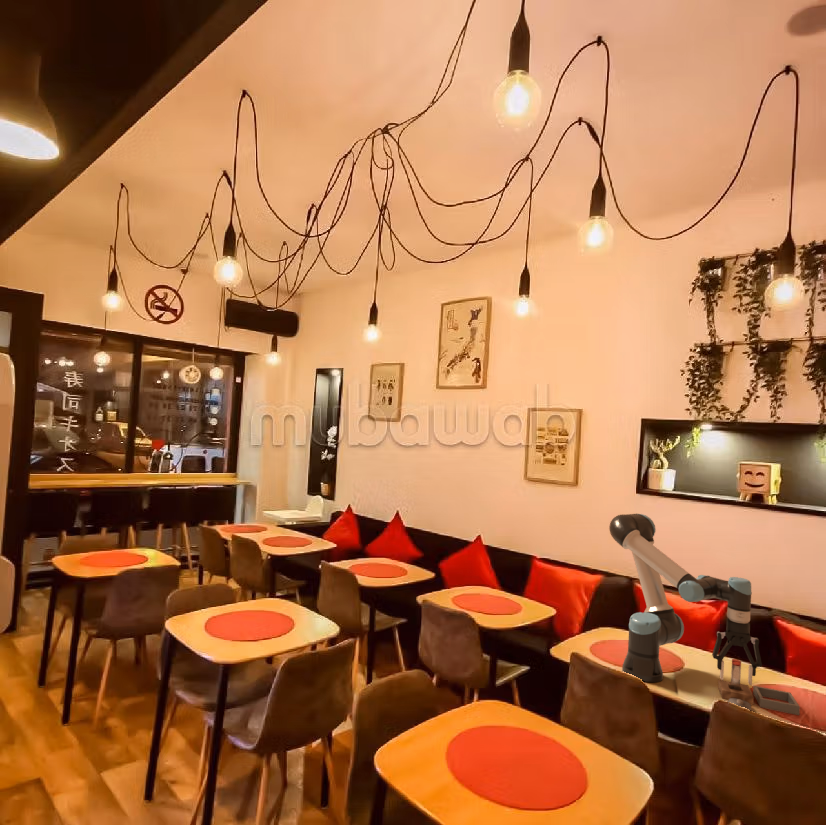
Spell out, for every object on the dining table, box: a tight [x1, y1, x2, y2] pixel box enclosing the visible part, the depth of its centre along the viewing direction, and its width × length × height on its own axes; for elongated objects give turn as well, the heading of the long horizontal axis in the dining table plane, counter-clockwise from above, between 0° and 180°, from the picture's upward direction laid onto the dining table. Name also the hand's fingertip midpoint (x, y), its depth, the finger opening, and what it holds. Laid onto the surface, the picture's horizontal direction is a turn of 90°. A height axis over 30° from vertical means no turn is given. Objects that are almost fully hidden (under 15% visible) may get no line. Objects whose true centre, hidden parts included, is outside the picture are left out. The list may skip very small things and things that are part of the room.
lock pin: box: [730, 658, 742, 691], centre depth 210 cm, size 3×3×13 cm
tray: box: [752, 685, 801, 716], centre depth 205 cm, size 12×12×4 cm
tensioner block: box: [717, 679, 755, 711], centre depth 206 cm, size 10×18×4 cm, turn 159°
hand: (735, 681), depth 210 cm, fingers open, 9 cm apart
